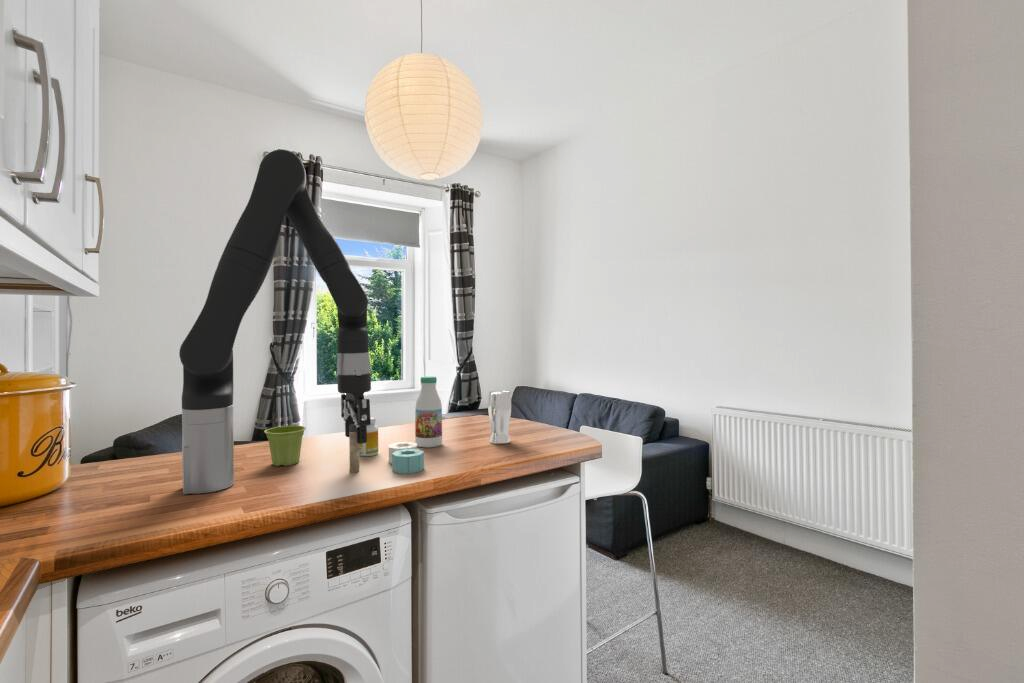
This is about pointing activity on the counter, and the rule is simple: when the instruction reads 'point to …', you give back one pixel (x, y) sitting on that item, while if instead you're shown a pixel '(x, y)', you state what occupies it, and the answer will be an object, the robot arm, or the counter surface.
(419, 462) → the teal bead
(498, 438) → the beer glass
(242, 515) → the counter surface
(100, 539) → the counter surface
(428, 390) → the milk bottle
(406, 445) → the cream bead
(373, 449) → the supplement bottle
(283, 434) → the plant pot
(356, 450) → the needle dowel
